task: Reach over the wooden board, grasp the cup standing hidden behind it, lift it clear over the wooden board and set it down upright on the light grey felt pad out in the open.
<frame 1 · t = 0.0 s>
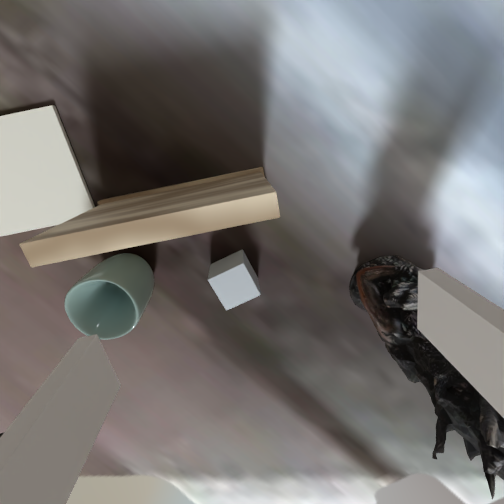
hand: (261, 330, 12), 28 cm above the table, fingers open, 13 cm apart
slate block: (234, 271, 42), on the table
cup: (132, 271, 41), on the table
pad: (26, 175, 36), on the table
sculpture: (381, 285, 44), on the table
wooden board: (184, 194, 37), on the table
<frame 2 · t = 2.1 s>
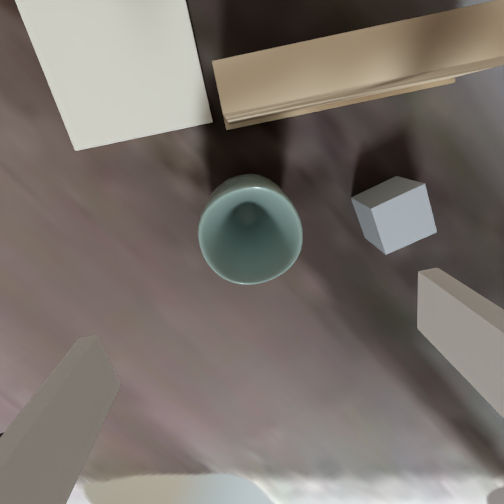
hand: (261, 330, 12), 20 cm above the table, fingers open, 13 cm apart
slate block: (379, 207, 31), on the table
cup: (246, 206, 31), on the table
pad: (120, 56, 25), on the table
wooden board: (334, 90, 27), on the table
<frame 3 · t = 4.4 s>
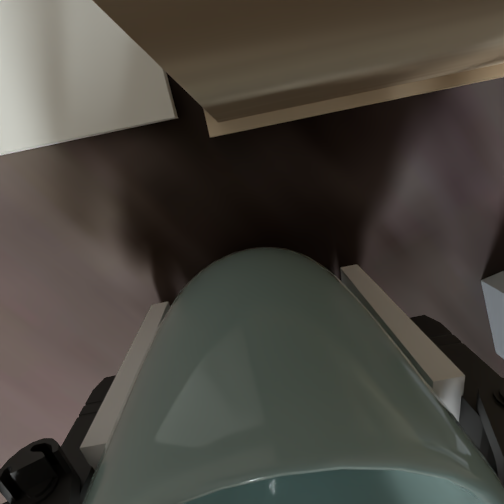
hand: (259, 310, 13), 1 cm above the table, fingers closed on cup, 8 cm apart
cup: (257, 300, 14), on the table, touching gripper
wooden board: (482, 38, 11), on the table
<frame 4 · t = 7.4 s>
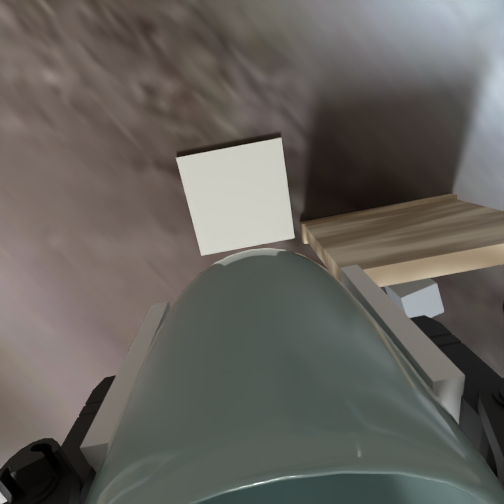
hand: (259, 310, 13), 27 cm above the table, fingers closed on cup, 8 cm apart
slate block: (403, 288, 45), on the table
cup: (258, 301, 14), point 26 cm above the table, touching gripper
pad: (238, 199, 38), on the table
wooden board: (375, 217, 40), on the table
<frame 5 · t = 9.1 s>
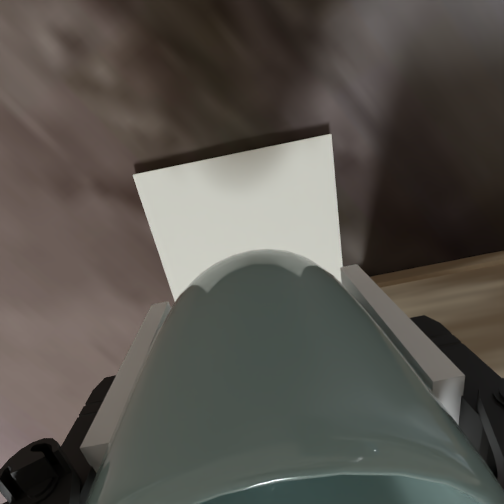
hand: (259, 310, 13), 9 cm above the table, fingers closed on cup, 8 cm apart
cup: (258, 301, 14), point 8 cm above the table, touching gripper
pad: (250, 244, 22), on the table
wooden board: (484, 269, 23), on the table
when the fingers open (3 cm above the table, at t = 10.5 s): cup drops 1 cm, resting on pad.
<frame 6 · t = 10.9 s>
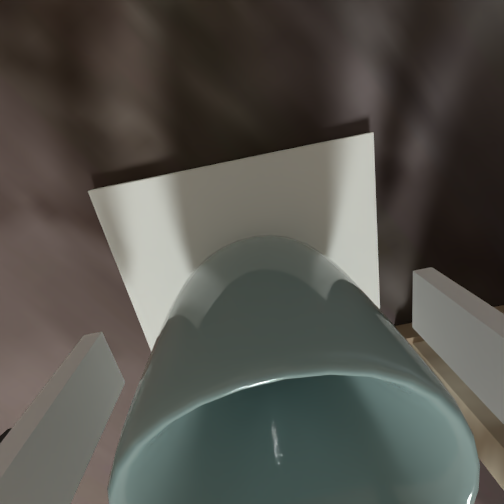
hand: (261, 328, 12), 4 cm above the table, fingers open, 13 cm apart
cup: (259, 286, 16), resting on pad
pad: (255, 283, 16), on the table
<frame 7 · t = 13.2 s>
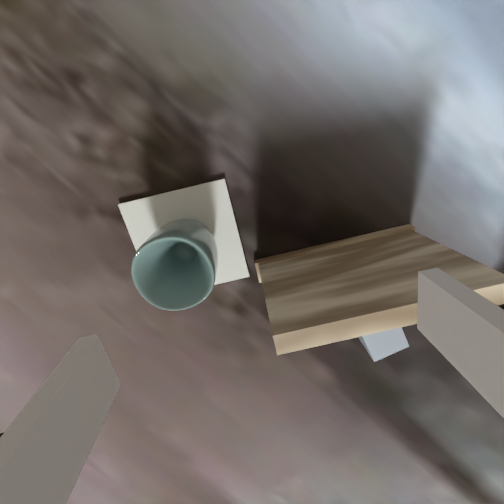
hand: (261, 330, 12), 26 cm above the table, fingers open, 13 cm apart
slate block: (369, 319, 43), on the table
cup: (189, 241, 37), resting on pad
pad: (188, 241, 37), on the table
wooden board: (332, 251, 39), on the table
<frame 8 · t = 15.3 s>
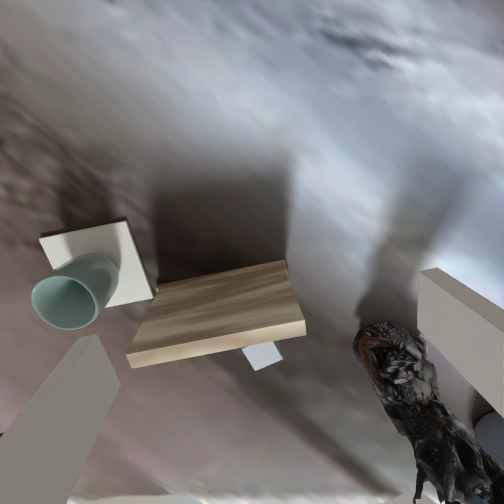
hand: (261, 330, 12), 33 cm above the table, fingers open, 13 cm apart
vase: (492, 422, 63), on the table
slate block: (260, 334, 52), on the table
cup: (100, 269, 45), resting on pad
pad: (100, 268, 45), on the table
sculpture: (378, 343, 54), on the table
wooden board: (222, 279, 47), on the table
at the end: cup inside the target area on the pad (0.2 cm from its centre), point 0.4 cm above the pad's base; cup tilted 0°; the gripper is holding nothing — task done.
